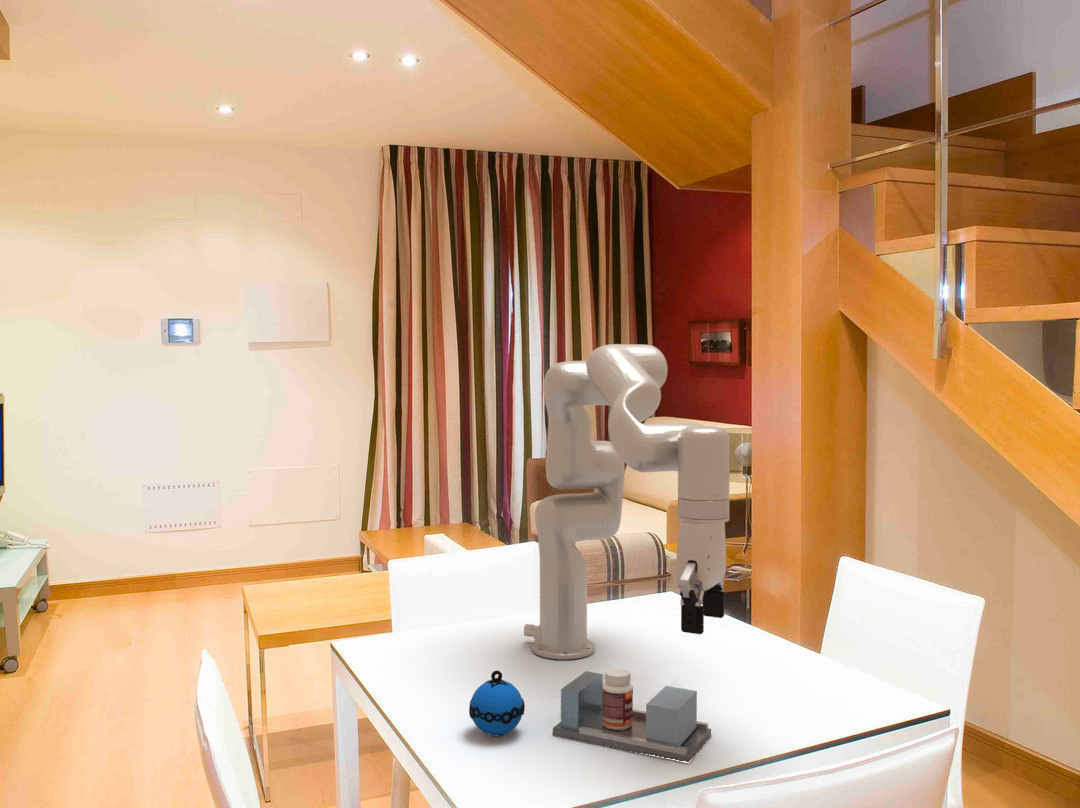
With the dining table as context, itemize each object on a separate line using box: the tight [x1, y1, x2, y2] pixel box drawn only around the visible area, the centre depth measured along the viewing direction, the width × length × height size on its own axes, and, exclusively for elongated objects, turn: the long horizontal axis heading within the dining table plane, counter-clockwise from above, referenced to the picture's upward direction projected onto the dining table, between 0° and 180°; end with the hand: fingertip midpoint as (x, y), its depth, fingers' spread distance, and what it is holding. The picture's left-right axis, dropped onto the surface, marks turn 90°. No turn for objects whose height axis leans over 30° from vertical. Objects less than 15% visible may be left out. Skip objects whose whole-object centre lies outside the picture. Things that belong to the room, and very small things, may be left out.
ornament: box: [468, 670, 526, 737], centre depth 142 cm, size 9×9×10 cm
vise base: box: [552, 670, 712, 762], centre depth 141 cm, size 22×11×7 cm, turn 62°
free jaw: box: [645, 685, 698, 746], centre depth 138 cm, size 5×9×6 cm, turn 152°
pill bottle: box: [602, 667, 634, 730], centre depth 142 cm, size 5×5×8 cm
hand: (703, 624), depth 135 cm, fingers open, 9 cm apart
